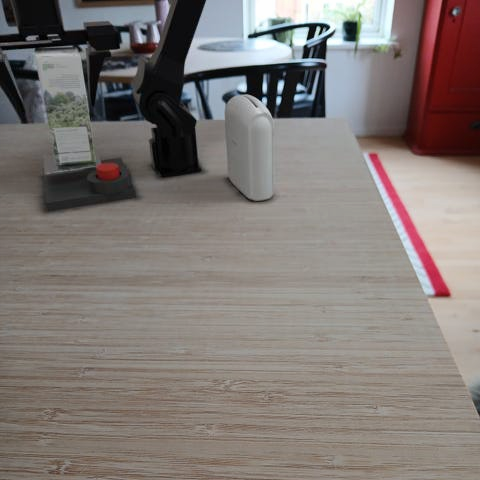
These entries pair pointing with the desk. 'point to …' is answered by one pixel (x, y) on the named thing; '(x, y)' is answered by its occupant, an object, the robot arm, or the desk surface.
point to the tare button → (107, 171)
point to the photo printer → (250, 146)
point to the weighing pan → (67, 166)
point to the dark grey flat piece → (87, 188)
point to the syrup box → (65, 104)
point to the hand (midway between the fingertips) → (59, 109)
